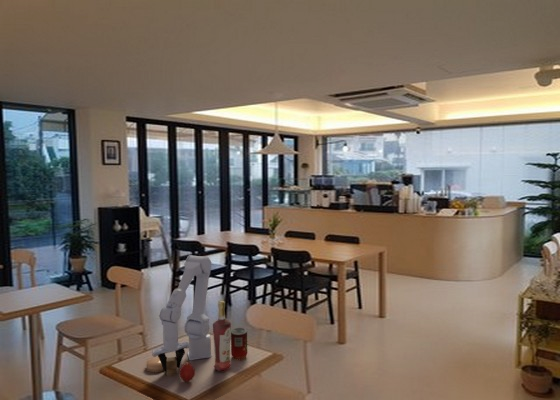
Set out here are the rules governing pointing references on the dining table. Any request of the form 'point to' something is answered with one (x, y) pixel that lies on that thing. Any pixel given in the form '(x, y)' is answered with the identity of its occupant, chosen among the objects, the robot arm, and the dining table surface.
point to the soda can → (239, 343)
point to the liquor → (222, 340)
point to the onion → (187, 372)
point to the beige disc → (154, 365)
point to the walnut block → (171, 366)
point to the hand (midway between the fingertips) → (171, 369)
